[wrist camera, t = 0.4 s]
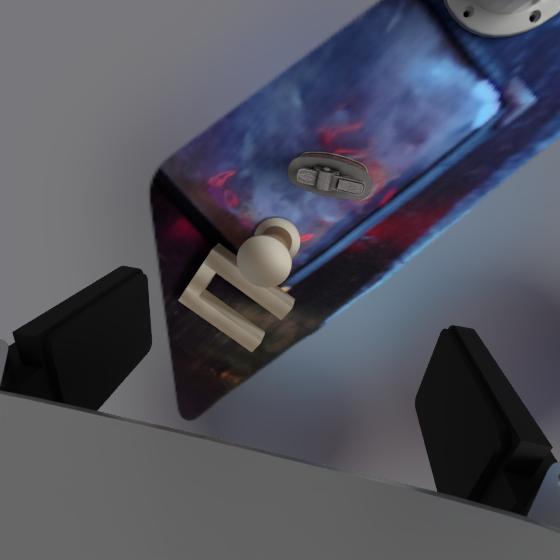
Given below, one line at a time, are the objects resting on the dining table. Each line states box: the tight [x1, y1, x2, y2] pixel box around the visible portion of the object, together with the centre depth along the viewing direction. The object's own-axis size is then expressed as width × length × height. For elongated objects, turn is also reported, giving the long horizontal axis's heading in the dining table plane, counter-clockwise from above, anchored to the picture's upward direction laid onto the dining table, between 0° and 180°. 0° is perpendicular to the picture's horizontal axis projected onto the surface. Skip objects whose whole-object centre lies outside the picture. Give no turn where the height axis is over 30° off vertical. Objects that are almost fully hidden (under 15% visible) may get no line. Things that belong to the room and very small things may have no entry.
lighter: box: [288, 151, 372, 199], centre depth 33 cm, size 8×3×10 cm, turn 80°
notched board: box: [178, 243, 295, 352], centre depth 46 cm, size 10×13×2 cm
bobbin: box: [237, 217, 300, 288], centre depth 39 cm, size 6×6×8 cm
